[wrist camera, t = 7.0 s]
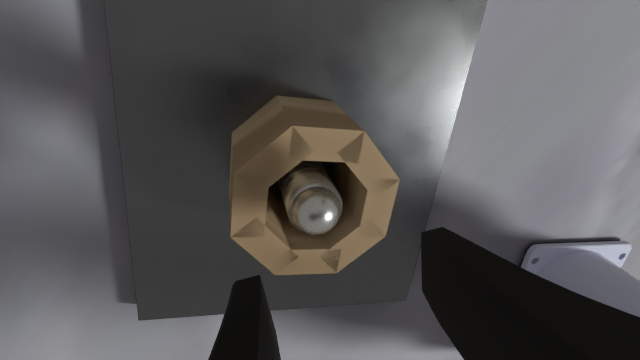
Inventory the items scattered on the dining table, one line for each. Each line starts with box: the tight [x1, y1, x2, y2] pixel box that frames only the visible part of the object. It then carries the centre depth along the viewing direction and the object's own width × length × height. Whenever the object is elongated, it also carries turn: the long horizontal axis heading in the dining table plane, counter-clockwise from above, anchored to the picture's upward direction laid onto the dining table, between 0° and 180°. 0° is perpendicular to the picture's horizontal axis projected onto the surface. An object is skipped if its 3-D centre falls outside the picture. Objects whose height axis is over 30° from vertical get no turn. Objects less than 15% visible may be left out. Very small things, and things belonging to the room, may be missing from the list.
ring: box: [229, 96, 400, 275], centre depth 14 cm, size 6×6×4 cm
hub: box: [104, 0, 488, 320], centre depth 15 cm, size 16×14×5 cm
